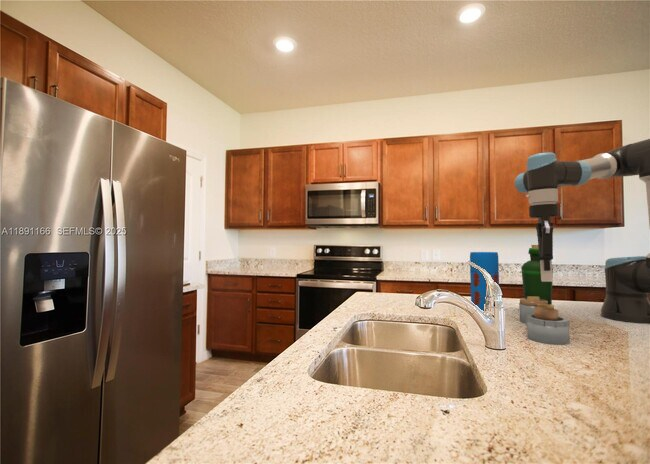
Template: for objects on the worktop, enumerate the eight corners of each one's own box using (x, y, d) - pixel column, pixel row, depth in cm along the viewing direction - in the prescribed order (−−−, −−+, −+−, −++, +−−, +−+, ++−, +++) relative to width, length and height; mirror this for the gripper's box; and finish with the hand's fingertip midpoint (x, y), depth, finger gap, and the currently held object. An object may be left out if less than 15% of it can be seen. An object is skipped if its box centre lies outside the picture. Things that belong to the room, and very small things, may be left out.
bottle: (553, 313, 130) (551, 244, 131) (555, 319, 121) (553, 245, 122) (522, 310, 136) (520, 244, 136) (522, 315, 127) (520, 245, 127)
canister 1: (540, 319, 121) (539, 294, 121) (554, 325, 112) (553, 299, 112) (515, 318, 122) (514, 294, 122) (527, 324, 113) (526, 298, 113)
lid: (556, 321, 98) (555, 303, 99) (560, 326, 93) (559, 307, 93) (533, 319, 101) (532, 302, 101) (535, 323, 96) (535, 305, 96)
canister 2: (565, 336, 99) (564, 315, 100) (573, 346, 90) (572, 323, 90) (525, 332, 104) (524, 312, 104) (529, 341, 95) (528, 319, 95)
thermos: (488, 315, 128) (486, 253, 128) (465, 310, 137) (464, 252, 138) (505, 312, 133) (503, 252, 133) (482, 307, 142) (480, 251, 143)
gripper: (526, 206, 106) (529, 278, 105) (531, 203, 94) (535, 283, 93) (553, 205, 102) (557, 278, 102) (562, 201, 91) (566, 284, 90)
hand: (546, 281), depth 98 cm, fingers closed
